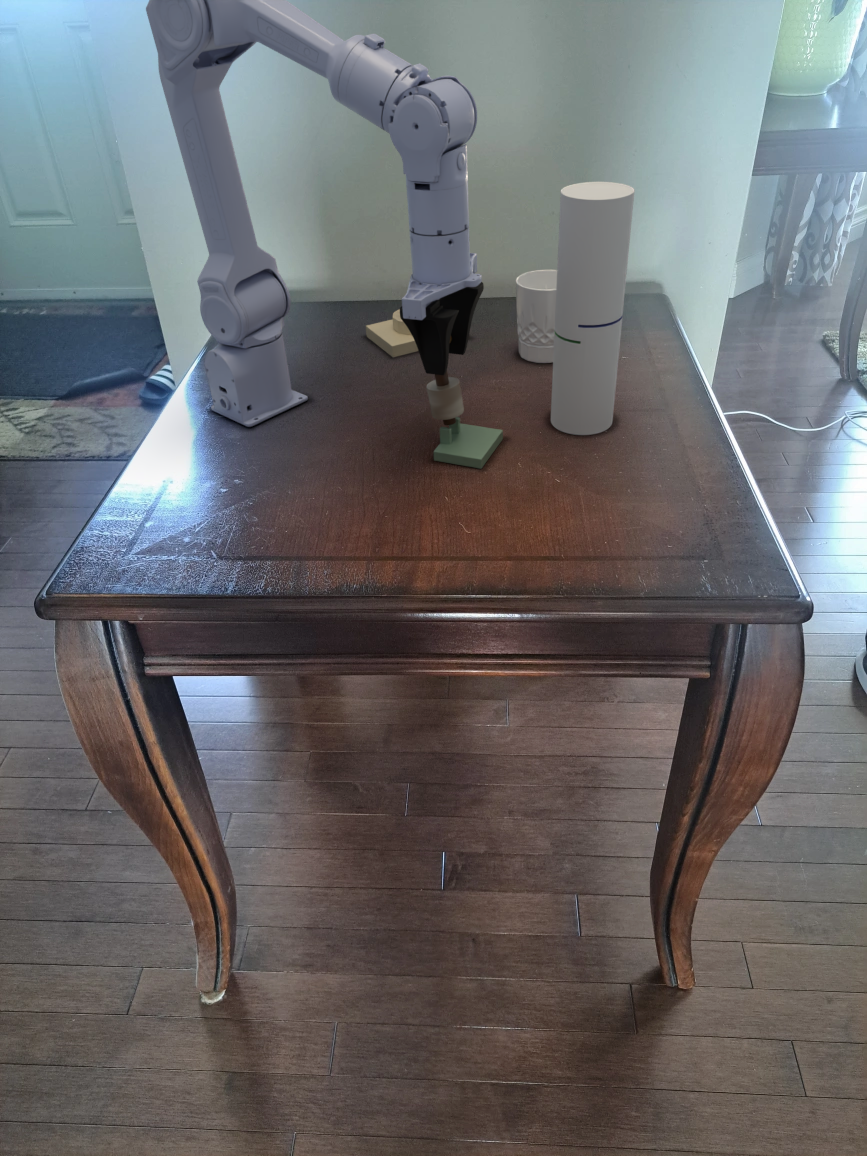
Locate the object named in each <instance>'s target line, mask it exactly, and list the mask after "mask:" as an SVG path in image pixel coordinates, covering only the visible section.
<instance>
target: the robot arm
mask: <svg viewBox="0 0 867 1156" xmlns="http://www.w3.org/2000/svg"><path fill="white" fill-rule="evenodd" d="M145 13H146V15H147V19H148V22H149V26H150V31H151V35H152V37H153V40H154V44H155V45H154V46H155V49H156V52H157V58H158V59H157V62H158V64H157V65H158V75H159V78H160V83H161V87H162V90H163V93H164V97H165V102H166V105H167V108H168V112H169V115H170V119H171V122H172V127H173V129H174V133H175V136H176V137H175V138H176V140H177V144H178V147H179V152H180V154H181V159H182V162H183V165H184V169H185V171H186V172H185V173H186V176H187V179H188V183H189V187H190V190H191V194H192V198H193V201H194V204H195V208H196V212H197V215H198V219H199V223H200V227H201V230H202V233H203V237H204V241H205V245H206V249H207V252H208V257H207V260H206V262H205V264H204V265H203V267H202V270H201V271H200V274H199V275H198V278H197V285H198V290H199V293H200V304H199V308H200V309H199V310H200V316H201V319H202V322H203V325H204V326H205V329H206V330H207V331H208V333H209V334H210V335H211V336H212V337H213V338H214V339H215V340H216V342H217V345H216V346H215V347H213V348H212V349H210V350H208V352H206V353H205V354H204V362H203V363H204V369H205V375H206V378H207V383H208V387H209V391H210V395H211V400H212V405H211V406H210V410H211V411H213V412H214V413H217V414H219V415H221V416H223V417H226V418H227V419H230V420H232V421H235V422H236V423H238V424H240V425H243V426H245V427H247V428H251V427H253V426H256V425H258V424H260V423H263V422H264V421H266V420H268V419H270V418H272V417H275V416H277V415H280V414H282V413H283V412H286V411H288V410H289V409H292V408H294V407H296V406H298V405H300V404H302V403H304V402H306V401H308V399H309V398H308V395H305V394H303V393H301V392H299V391H296V390H294V389H292V383H291V377H290V370H289V365H288V358H287V352H286V346H285V342H284V341H285V340H284V335H283V329H284V328H285V326H286V324H285V317H286V316H287V315H288V314H289V312H290V310H291V305H292V298H291V294H290V290H289V288H288V286H287V283H286V282H285V280H284V278H283V277H282V275H281V273H280V271H279V268H278V264H277V260H276V258H275V256H274V255H272V254H270V253H269V252H268V251H266V250H265V249H262V248H261V247H260V246H259V245H258V242H257V238H256V234H255V233H256V232H255V230H254V226H253V221H252V217H251V213H250V209H249V206H248V202H247V201H248V200H247V197H246V193H245V188H244V185H243V180H242V176H241V173H240V169H239V164H238V160H237V156H236V152H235V148H234V144H233V140H232V136H231V132H230V127H229V123H228V119H227V115H226V111H225V107H224V103H223V100H222V95H221V91H220V88H221V84H222V83H223V82H224V79H225V77H226V75H227V74H228V72H229V71H230V69H231V67H232V66H233V63H234V62H235V61H236V60H238V59H239V58H240V57H241V56H243V55H244V54H245V53H246V52H247V51H248V50H250V49H251V48H252V47H253V46H254V45H256V43H259V44H261V45H263V46H265V47H267V48H269V49H270V50H272V51H274V52H276V53H278V54H280V55H282V56H283V57H286V58H288V59H289V60H291V61H293V62H295V63H297V64H299V66H302V67H304V68H306V69H308V70H310V71H312V72H314V73H315V74H317V75H320V76H321V77H323V78H325V79H326V80H327V81H328V85H329V89H330V92H331V95H332V98H333V100H335V101H336V102H337V103H339V104H341V105H342V106H344V107H345V108H347V109H349V110H351V112H354V113H355V114H357V115H358V116H360V117H362V118H363V119H365V120H367V121H368V122H370V123H372V124H373V125H375V126H376V127H378V128H379V129H381V130H383V131H384V132H386V133H388V134H389V136H390V140H391V143H392V145H393V146H394V148H395V149H396V151H397V152H398V154H399V155H400V158H401V161H402V173H403V175H405V185H406V186H405V187H406V188H405V189H406V199H407V200H406V201H407V202H406V203H407V216H408V229H409V245H410V258H411V269H412V270H411V272H412V273H411V275H410V278H409V282H408V286H407V289H406V293H405V295H404V296H403V297H402V298H401V306H400V307H399V309H400V318H401V319H402V321H403V322H404V323H405V325H406V326H407V328H408V329H409V331H410V333H411V334H412V336H413V338H414V340H415V343H416V345H417V348H418V351H417V352H418V354H419V357H420V359H421V363H422V366H423V369H424V371H425V374H429V375H434V376H435V375H444V374H445V373H446V371H447V372H448V367H449V358H450V357H449V356H450V355H461V356H464V355H465V354H466V351H467V347H468V343H469V338H470V331H471V327H472V322H473V317H474V313H475V311H476V308H477V305H478V303H479V300H480V297H481V295H482V294H483V291H484V289H485V285H484V282H483V276H482V274H480V273H477V272H478V254H477V253H476V252H471V251H470V250H471V249H470V211H469V209H470V208H469V207H470V206H469V205H470V204H469V173H468V145H467V144H466V143H467V142H469V141H470V139H472V137H473V135H474V133H475V131H476V128H477V124H478V109H477V104H476V100H475V98H474V96H473V94H472V92H471V90H469V88H468V87H467V86H466V85H465V84H463V83H462V82H461V81H460V80H459V78H458V77H457V76H454V75H448V74H447V75H442V76H438V77H435V78H432V77H431V76H430V74H429V68H428V67H427V66H425V64H424V65H423V64H422V63H416V64H412V63H410V62H409V61H407V60H405V59H403V58H402V57H401V56H399V55H397V54H395V53H394V52H391V51H390V50H389V49H387V48H385V44H386V39H384V38H383V37H382V36H380V35H378V34H376V33H370V34H365V35H363V34H355V35H353V36H351V37H349V38H348V39H346V40H344V39H343V38H342V37H340V36H338V35H337V34H336V33H334V32H332V31H331V30H330V29H329V28H327V27H325V26H324V25H322V24H321V23H319V22H318V21H316V20H315V19H314V18H312V17H311V16H309V15H308V14H307V13H305V12H304V11H303V10H301V9H299V8H298V7H296V6H295V5H294V4H292V3H291V2H289V1H288V0H148V2H147V5H146V6H145ZM450 337H452V340H451V342H450Z"/></svg>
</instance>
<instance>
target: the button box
mask: <svg viewBox="0 0 867 1156" xmlns="http://www.w3.org/2000/svg"><path fill="white" fill-rule="evenodd" d="M365 334H366V338H368V339H369V340H370V341H371V342H373V343H374V344H375V345H377V347H378V348H380V349H381V350H382V351H384V352H385V353H386V354H388V355H389V356H390V357H392V358H397V357H401V356H404V355H408V354H413V353H417V352H419V351H418V348H417V345H416V343H415V340H414V338H413V336H412V334H411V333H410V331H409V329H408V328H407V326H406V325H405V323H404V322H403V321H402V319H401V318H400V308H399V309H397V310H395V311H394V312H393V313H392V319H388V320H383V321H379V322H375V323H370V324H367V325H365Z"/></svg>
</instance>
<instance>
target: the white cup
mask: <svg viewBox="0 0 867 1156" xmlns="http://www.w3.org/2000/svg"><path fill="white" fill-rule="evenodd" d="M556 287H557V269H537V270H530V271H527V272H523V273H521V274H520V275H518V276H517V277H516V278H515V301H516V302H515V303H516V305H515V306H516V325H517V328H516V329H517V337H518V339H517V341H518V354H519V356H520V358H522V359H523V360H525V361H527V362H531V363H536V364H550V363H551V364H553V354H554V332H555V309H556Z"/></svg>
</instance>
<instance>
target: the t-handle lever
mask: <svg viewBox="0 0 867 1156" xmlns="http://www.w3.org/2000/svg"><path fill="white" fill-rule="evenodd" d="M451 340H452V337H450V342H451ZM426 393H427V397H428V402H429V407H430V413H431V417H432V418H433V419H435V420H438V421H440V420H441V421H442V422H443V425H444V426H449V425H453V424H455V423H456V418H455V417H461V415H463V414H464V412H465V407H464V406H465V405H464V400H463V393H462V388H461V382H460V379H459V378H457V377H454V376H449V372H448V370H447V371H446V373H445V374H444V375H435V374H434V379H433V380H431V381H429V382H428V383H427V384H426Z"/></svg>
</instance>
